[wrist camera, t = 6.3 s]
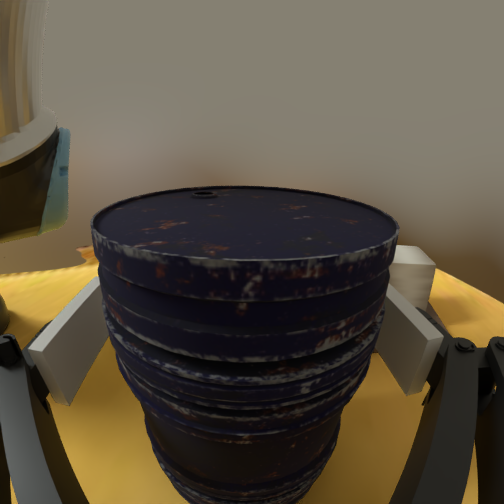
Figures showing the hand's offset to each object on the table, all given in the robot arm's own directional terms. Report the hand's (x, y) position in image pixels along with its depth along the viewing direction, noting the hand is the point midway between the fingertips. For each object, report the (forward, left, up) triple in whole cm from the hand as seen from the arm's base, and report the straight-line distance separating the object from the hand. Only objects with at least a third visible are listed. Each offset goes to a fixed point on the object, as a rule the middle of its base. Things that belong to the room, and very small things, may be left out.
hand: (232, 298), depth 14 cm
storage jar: (+2, -2, -10) cm, 10 cm away
